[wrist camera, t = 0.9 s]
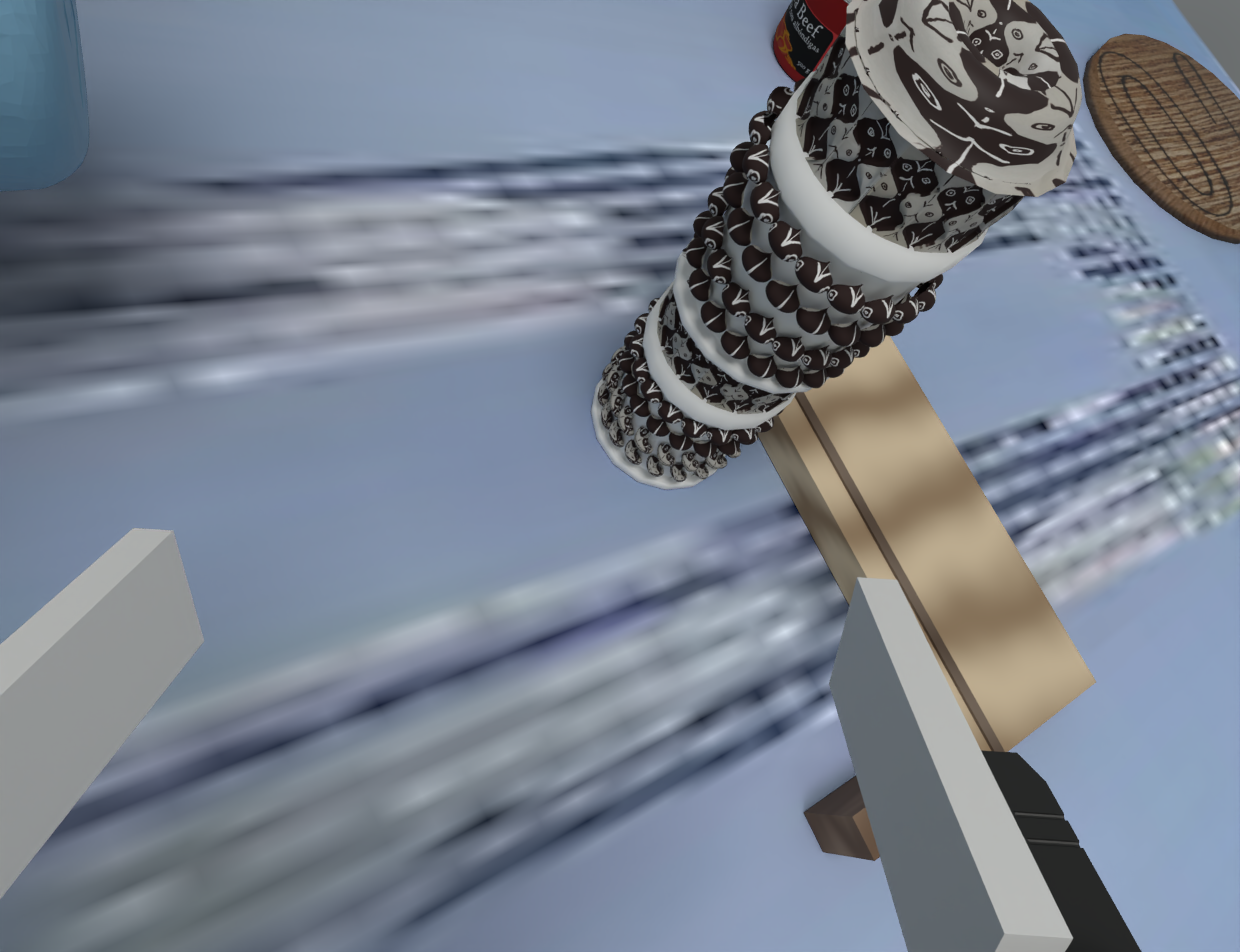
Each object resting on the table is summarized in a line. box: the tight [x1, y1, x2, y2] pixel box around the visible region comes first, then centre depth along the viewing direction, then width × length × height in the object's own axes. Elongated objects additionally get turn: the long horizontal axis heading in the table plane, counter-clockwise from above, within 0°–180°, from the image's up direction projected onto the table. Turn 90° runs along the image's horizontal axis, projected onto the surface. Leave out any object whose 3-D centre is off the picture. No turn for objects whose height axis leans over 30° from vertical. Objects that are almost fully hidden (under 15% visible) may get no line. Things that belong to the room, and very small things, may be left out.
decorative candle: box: [591, 0, 1082, 490], centre depth 31 cm, size 9×9×25 cm
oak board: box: [758, 335, 1096, 752], centre depth 44 cm, size 28×11×3 cm, turn 27°
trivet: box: [1083, 34, 1240, 244], centre depth 74 cm, size 25×25×2 cm
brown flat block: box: [804, 776, 880, 861], centre depth 36 cm, size 2×6×4 cm, turn 117°
